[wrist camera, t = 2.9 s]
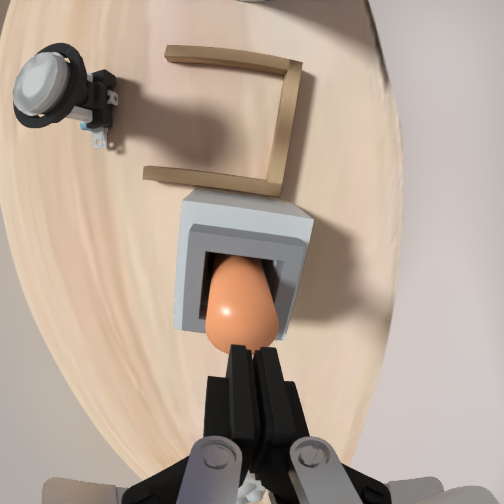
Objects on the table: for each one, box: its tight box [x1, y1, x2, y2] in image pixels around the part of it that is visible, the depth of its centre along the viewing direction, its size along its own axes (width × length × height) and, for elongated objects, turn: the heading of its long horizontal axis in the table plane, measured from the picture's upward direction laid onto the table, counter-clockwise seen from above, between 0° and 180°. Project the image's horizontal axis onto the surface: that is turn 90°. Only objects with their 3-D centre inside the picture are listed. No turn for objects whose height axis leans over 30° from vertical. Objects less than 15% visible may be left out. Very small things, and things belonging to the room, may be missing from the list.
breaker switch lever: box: [205, 253, 279, 354], centre depth 17 cm, size 3×3×8 cm
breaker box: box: [174, 189, 314, 340], centre depth 20 cm, size 9×8×8 cm
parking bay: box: [143, 45, 303, 197], centre depth 19 cm, size 11×10×2 cm
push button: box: [13, 43, 118, 149], centre depth 14 cm, size 7×5×10 cm
